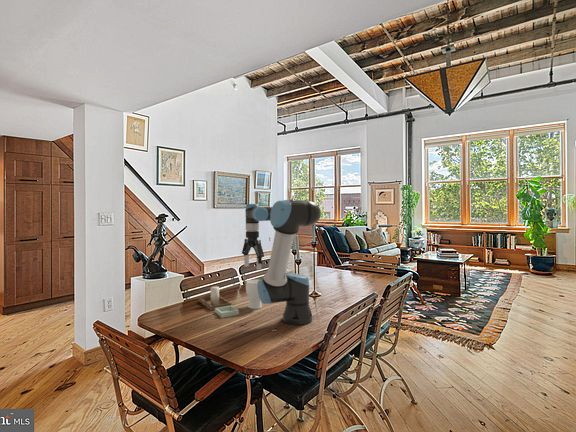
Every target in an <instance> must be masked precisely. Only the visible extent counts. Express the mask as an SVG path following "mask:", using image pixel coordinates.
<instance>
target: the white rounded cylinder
mask: <svg viewBox="0 0 576 432" xmlns="http://www.w3.org/2000/svg"><path fill="white" fill-rule="evenodd" d="M210 296H211V305H212V306H215V305H219V296H220V286H211V287H210Z"/></svg>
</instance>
